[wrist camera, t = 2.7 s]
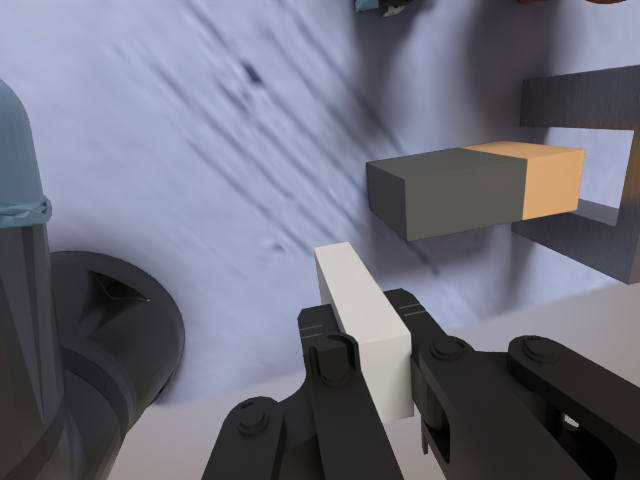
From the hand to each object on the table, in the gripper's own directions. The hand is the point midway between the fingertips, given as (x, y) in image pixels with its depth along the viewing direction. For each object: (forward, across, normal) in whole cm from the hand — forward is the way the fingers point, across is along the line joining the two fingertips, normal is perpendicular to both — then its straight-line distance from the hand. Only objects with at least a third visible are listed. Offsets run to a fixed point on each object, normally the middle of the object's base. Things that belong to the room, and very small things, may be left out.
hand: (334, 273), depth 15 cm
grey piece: (+14, +21, 0) cm, 25 cm away
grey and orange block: (+14, +12, 0) cm, 18 cm away
